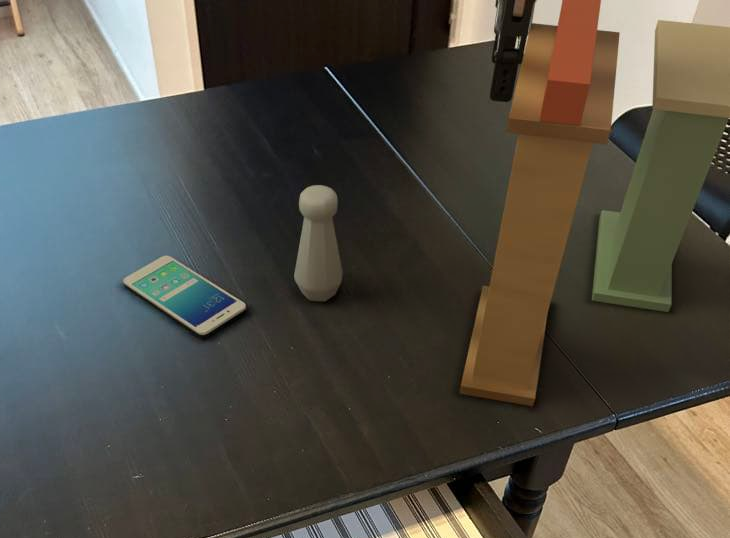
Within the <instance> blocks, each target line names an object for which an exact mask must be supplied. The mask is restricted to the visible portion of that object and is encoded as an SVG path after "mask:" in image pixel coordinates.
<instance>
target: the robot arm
mask: <svg viewBox="0 0 730 538" xmlns="http://www.w3.org/2000/svg"><path fill="white" fill-rule="evenodd" d="M537 2H538V0H495V5H494V7H495V8H496V13H495V19H494V27H493V32H494V33H493V34H494V35H495V36H494V41H493V48H492V54H491V62H492V63H493V64H494V67H493V74H492V79H491V83H490V91H489V99H490V100H491V101H493V102H500V103H509V102H510V101H511V100H513V96H514V91H515V90H514V89H515V85H516V79H517V74H518V69H519V65H521V64H522V60H523V56H524V52H525V48H526V44H527V39H528V35H529V31H530V27H531V23H533V20H534V13H535V7H536V4H537ZM516 46H517V47H516Z"/></svg>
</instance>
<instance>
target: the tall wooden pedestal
mask: <svg viewBox="0 0 730 538" xmlns="http://www.w3.org/2000/svg"><path fill="white" fill-rule="evenodd" d="M557 26H558V25H554V24H543V23H535V22H532V23H531V27H530V31H529V35H528V36H527V40H526V45H525V50H524V56H523V60H522V64H520V69H519V73H518V78H517V82H516V84H515V85H516V86H515V90H514V93H513V97H512V102H511V106H510V110H509V115H508V120H507V126H506V130H505V131H506V133H510V134H517V140H516V145H515V151H514V155H513V162H512V167H511V172H510V177H509V182H508V186H507V187H508V188H507V192H506V197H505V203H504V207H503V208H504V209H503V214H502V219H501V224H500V228H499V229H500V230H499V233H498V240H497V245H496V250H495V255H494V260H493V265H492V271H491V276H490V282H489V285H482V287H481V294H480V298H479V302H478V307H477V310H476V316H475V320H474V324H473V329H472V334H471V337H470V343H469V346H468V351H467V356H466V362H465V364H464V368H463V369H464V370H463V374H462V378H461V383H460V388H459V395H463V396H464V395H465V396H470V397H476V398H482V399H489V400H493V401H499V402H504V403H505V402H506V403H511V404H515V405H516V404H517V405H521V406H528V407H534V404H535V401H536V397H537V389H538V383H539V377H540V376H539V375H540V369H541V361H542V354H543V347H544V340H545V333H546V326H547V319H548V313H549V309H550V305H551V303H552V298H553V294H554V290H555V288H556V287H555V286H556V283H557V279H558V275H559V272H560V268H561V264H562V262H563V261H562V260H563V256H564V253H565V249H566V246H567V242H568V238H569V235H570V230H571V228H572V223H573V219H574V216H575V212H576V210H577V209H576V208H577V204H578V201H579V197H580V193H581V190H582V186H583V183H584V178H585V176H586V172H587V167H588V164H589V160H590V156H591V152H592V148H593V145H594V144H598V145H604V146H606V145H607V144H608V142H609V138H610V136H611V132H612V123H613V111H614V100H615V90H616V89H615V88H616V78H617V68H618V57H619V45H620V44H619V43H620V35H621V33H620V32H619V31H613V30H611V31H610V30H603V29H602V30H601V29H597V36H596V44H595V51H594V59H593V67H592V75H591V82H590V87H589V91H588V95H587V99H586V103H585V107H584V111H583V115H582V119H581V123H580V126H577V125H569V124H561V123H552V122H544V121H539V119H540V113H541V108H542V103H543V98H544V93H545V88H546V83H547V77H548V72H549V67H550V62H551V57H552V52H553V47H554V42H555V36H556V31H557Z"/></svg>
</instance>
